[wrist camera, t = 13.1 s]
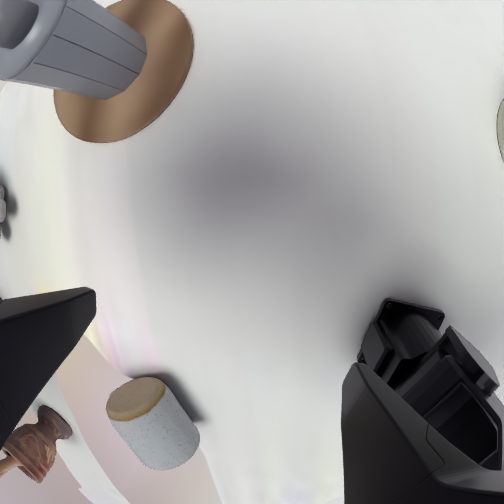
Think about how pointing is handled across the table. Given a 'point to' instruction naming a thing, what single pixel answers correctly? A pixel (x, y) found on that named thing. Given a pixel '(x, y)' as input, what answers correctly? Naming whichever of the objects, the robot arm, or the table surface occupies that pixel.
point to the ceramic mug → (153, 423)
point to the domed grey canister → (69, 47)
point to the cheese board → (144, 86)
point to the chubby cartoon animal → (2, 206)
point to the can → (501, 128)
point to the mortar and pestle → (35, 445)
